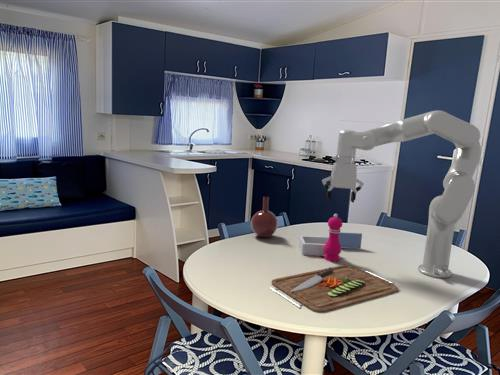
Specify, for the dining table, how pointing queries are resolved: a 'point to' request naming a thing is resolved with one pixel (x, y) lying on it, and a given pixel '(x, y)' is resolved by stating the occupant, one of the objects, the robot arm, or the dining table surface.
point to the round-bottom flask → (264, 221)
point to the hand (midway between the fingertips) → (340, 200)
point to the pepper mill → (333, 239)
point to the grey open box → (312, 245)
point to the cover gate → (350, 240)
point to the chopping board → (333, 287)
